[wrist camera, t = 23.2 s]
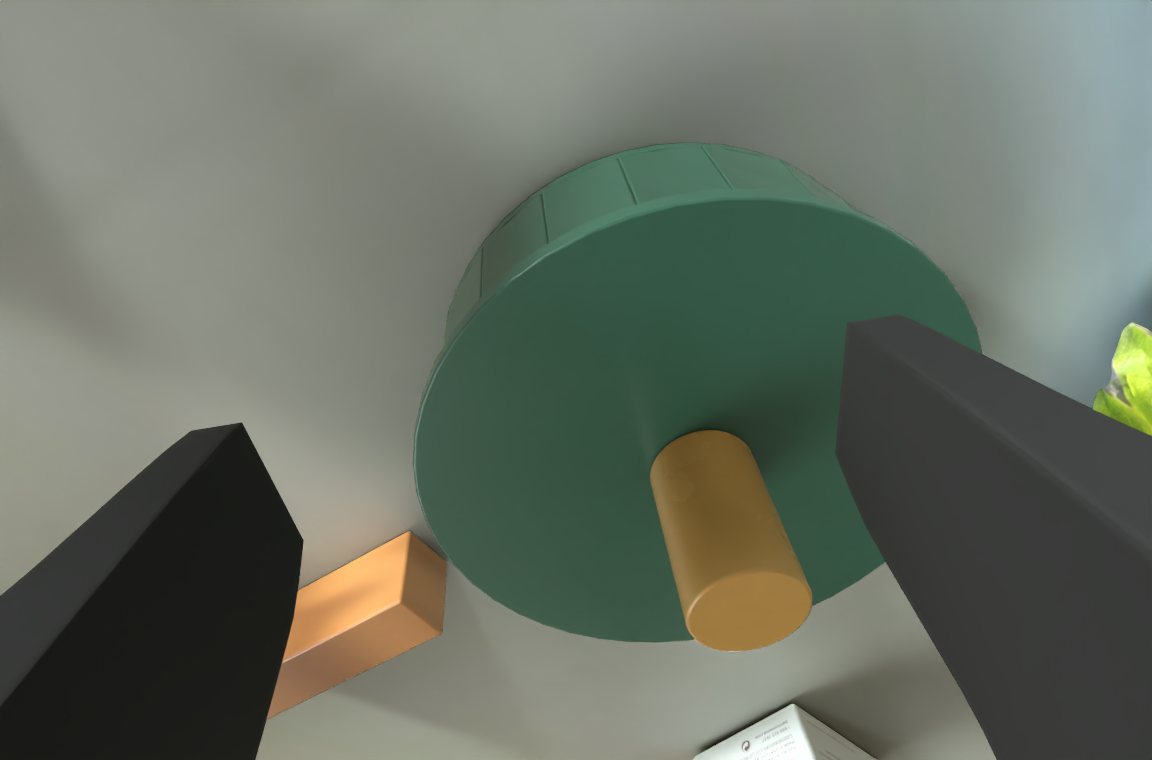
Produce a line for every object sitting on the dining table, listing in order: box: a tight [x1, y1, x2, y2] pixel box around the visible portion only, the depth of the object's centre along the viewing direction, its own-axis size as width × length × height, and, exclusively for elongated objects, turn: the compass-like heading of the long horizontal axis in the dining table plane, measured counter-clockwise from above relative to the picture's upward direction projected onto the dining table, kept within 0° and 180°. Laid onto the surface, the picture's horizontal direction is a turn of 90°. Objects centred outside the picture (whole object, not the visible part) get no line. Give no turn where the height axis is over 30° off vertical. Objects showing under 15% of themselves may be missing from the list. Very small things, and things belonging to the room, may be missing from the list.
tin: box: [443, 143, 851, 347], centre depth 19 cm, size 12×12×4 cm
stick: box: [266, 531, 447, 720], centre depth 24 cm, size 9×2×3 cm, turn 122°
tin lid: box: [413, 189, 982, 652], centre depth 16 cm, size 13×13×5 cm
